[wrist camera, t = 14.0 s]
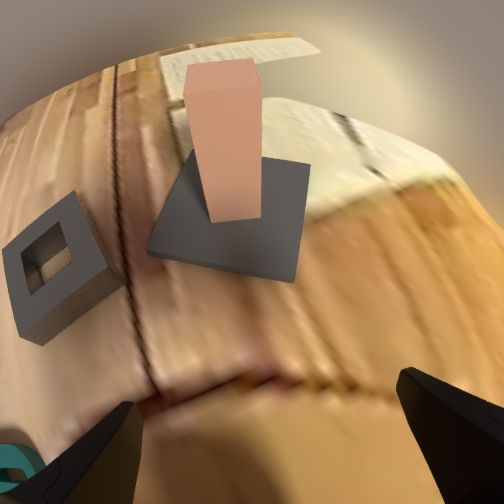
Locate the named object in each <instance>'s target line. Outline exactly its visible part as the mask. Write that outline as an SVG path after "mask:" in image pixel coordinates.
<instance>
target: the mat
mask: <svg viewBox="0 0 504 504" xmlns="http://www.w3.org/2000/svg"><path fill="white" fill-rule="evenodd" d="M310 166H311V164H305V163H299V162H293V161H287V160H281V159H274V158H267V157H261V218H253V219H244V220H234V221H225V222H216V223H211V220H210V216H209V212H208V207H207V203H206V199H205V195H204V190H203V186H202V181H201V177H200V173H199V168H198V164H197V159H196V154H195V150H194V149H192V151H191V153H190V155H189V157H188V159H187V161H186V163H185V165H184V167H183V169H182V171H181V173H180V175H179V177H178V179H177V181H176V183H175V185H174V187H173V189H172V191H171V193H170V195H169V197H168V199H167V202H166V204H165V206H164V208H163V210H162V213H161V215H160V217H159V219H158V221H157V224H156V226H155V228H154V231H153V233H152V235H151V238H150V240H149V242H148V245H147V247H146V251H147V253H148V254H149V255H151V256H156V257H161V258H166V259H170V260H175V261H180V262H185V263H190V264H195V265H200V266H205V267H210V268H215V269H220V270H225V271H230V272H235V273H240V274H245V275H251V276H256V277H261V278H267V279H272V280H277V281H283V282H288V283H293V282H294V279H295V273H296V267H297V261H298V254H299V248H300V241H301V234H302V227H303V220H304V213H305V206H306V198H307V191H308V183H309V175H310Z"/></svg>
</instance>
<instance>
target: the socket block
mask: <svg viewBox="0 0 504 504" xmlns="http://www.w3.org/2000/svg"><path fill="white" fill-rule="evenodd" d="M66 246H68V248H69V251H70V254H71V257H72V259H73V262H72V263H71V264H69V265H68V266H67V267H66V268H64V269H63V270H62V271H60V272H59V273H58V274H57V275H55V276H54V277H53V278H52V279H51V280H49V281H48V282H47V283H46V284H45V285H43V281H42V278H41V274H40V271H39V268H40V267H41V266H43V265H44V264H45V263H46V262H47V261H49V260H50V259H51V258H52V257H53V256H55V255H56V254H57V253H58V252H60V251H61V250H62V249H63V248H65V247H66ZM2 255H3V263H4V269H5V276H6V282H7V287H8V292H9V297H10V302H11V306H12V310H13V314H14V318H15V322H16V326H17V330H18V333H19V337H21V338H23V339H26V340H28V341H30V342H33V343H35V344H38V345H40V346H44V345H45V344H46V343H47V342H49V341H50V340H51V339H52V338H54V337H55V336H56V335H57V334H59V333H60V332H61V331H63V330H64V329H65V328H66V327H68V326H69V325H70V324H72V323H73V322H74V321H75V320H77V319H78V318H79V317H81V316H82V315H83V314H85V313H86V312H87V311H89V310H90V309H91V308H93V307H94V306H95V305H97V304H98V303H99V302H101V301H102V300H103V299H105V298H106V297H107V296H109V295H110V294H111V293H113V292H114V291H115V290H117V289H118V288H120V287H121V286H122V285H124V284H125V282H124V281H123V279H122V277H121V275H120V273H119V271H118V270H117V268H116V266H115V264H114V262H113V260H112V258H111V256H110V254H109V252H108V250H107V248H106V246H105V244H104V242H103V240H102V238H101V236H100V234H99V232H98V230H97V228H96V226H95V224H94V221H93V219H92V217H91V215H90V213H89V210H88V209H87V207H86V206H85V205H84V203H83V202H82V200H81V199H80V197H79V196H78V195H77V193H76V192H75V190H73V191H72V192H71V193H69V194H68V195H67V196H65V197H64V198H63V199H61V200H60V201H59V202H57V203H56V204H55V205H53V206H52V207H51V208H50V209H48V210H47V211H46V212H45V213H43V214H42V215H41V216H40V217H38V218H37V219H36V220H35V221H34V222H32V223H31V224H30V225H29V226H28V227H27V228H25V229H24V230H23V231H22V232H21V233H20V234H19V235H17V236H16V237H15V238H14V239H13V240H12V241H11V242H10V243H9V244H8V245H7V246H5V247H4V248H3V249H2Z"/></svg>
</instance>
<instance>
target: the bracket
mask: <svg viewBox="0 0 504 504" xmlns="http://www.w3.org/2000/svg"><path fill="white" fill-rule="evenodd" d="M45 467H46V465H45V463H44V462H43V460H42V459H41V458H40V456H39V455H38V454H37V453H36V452H35V451H34V450H32V449H31V448H30V447H28V446H26V445H23V444H0V493H2V492H6V491H9V490H10V489H12V488H14V487H16V486H17V485H19V484H20V483H22V482H24V481H14V480H11V479H10V478H9V477H8V475H7V473H6V468H19V469H21V470H23V471H24V473H25V474H26V476H27V479H29V478H30V477H32V476H33V475H35V474H36V473H38V472H39V471H41V470H42V469H43V468H45Z"/></svg>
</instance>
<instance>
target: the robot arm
mask: <svg viewBox="0 0 504 504" xmlns="http://www.w3.org/2000/svg"><path fill="white" fill-rule="evenodd" d="M396 392H397V395H398V397H399V400H400V403H401V405H402V408H403V411H404V413H405V416H406V419H407V422H408V424H409V427H410V429H411V431H412V433H413V435H414V437H415V439H416V441H417V443H418V445H419V447H420V449H421V451H422V453H423V456H424V458H425V460H426V462H427V464H428V466H429V468H430V471H431V473H432V475H433V477H434V479H435V482H436V484H437V486H438V488H439V491H440V493H441V495H442V498H443V500H444V502H445V504H504V408H503V407H500V406H498V405H495V404H493V403H490V402H487V401H486V400H483V399H481V398H479V397H477V396H474V395H472V394H470V393H468V392H465V391H463V390H461V389H459V388H457V387H454V386H452V385H450V384H448V383H446V382H444V381H441V380H439V379H437V378H435V377H433V376H431V375H428V374H426V373H424V372H422V371H420V370H418V369H416V368H414V367H408V368H405V369H402V370H401V371H400V374H399V378H398V381H397V385H396ZM142 433H143V417H142V415H141V413H140V411H139V409H138V407H137V405H136V403H135V402H133V401H123V402H121V403H120V404H119V405H118V406H117V407H116V408H114V409H113V410H112V411H111V412H110V413H109V414H108V415H106V416H105V417H104V418H103V419H102V420H101V421H99V422H98V423H97V424H96V425H95V426H94V427H93V428H91V429H90V430H89V431H88V432H87V433H86V434H84V435H83V436H82V437H81V438H80V439H78V440H77V441H76V442H75V443H74V444H73V445H71V446H70V447H69V448H68V449H67V450H65V451H64V452H63V453H62V454H61V455H60V456H59V457H57V458H56V459H55V460H53V461H52V462H51V463H50V464H48V465H47V466H46V467H45V468H43V469H42V470H41V471H39V472H38V473H36V474H35V475H33V476H32V477H30V478H29V479H27V480H25V481H24V482H22V483H20V484H19V485H17V486H16V487H14V488H12V489H10V490H9V491H6V492H2V493H0V504H133V498H134V492H135V486H136V481H137V475H138V470H139V465H140V458H141V446H142Z"/></svg>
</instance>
